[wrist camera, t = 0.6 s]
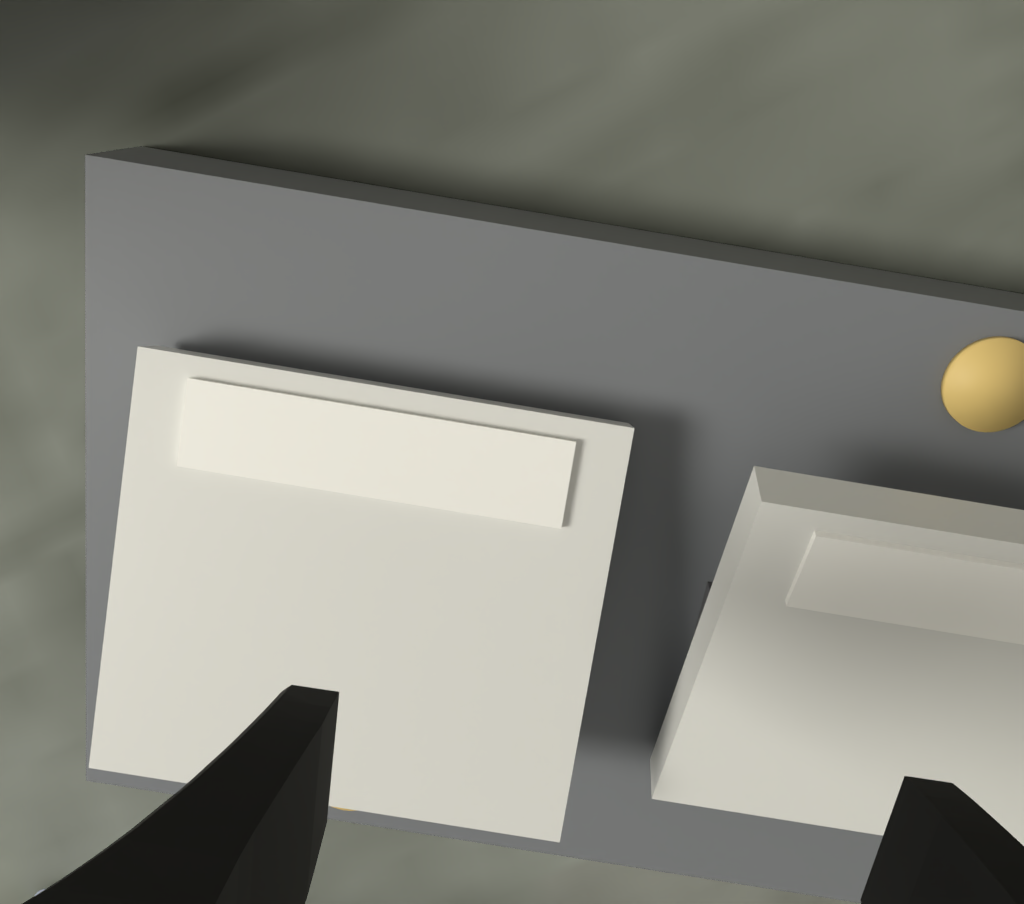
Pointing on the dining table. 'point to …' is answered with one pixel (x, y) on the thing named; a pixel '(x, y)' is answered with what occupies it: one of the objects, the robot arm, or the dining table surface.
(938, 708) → the switch
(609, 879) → the dining table surface
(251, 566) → the switch
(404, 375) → the switch panel
